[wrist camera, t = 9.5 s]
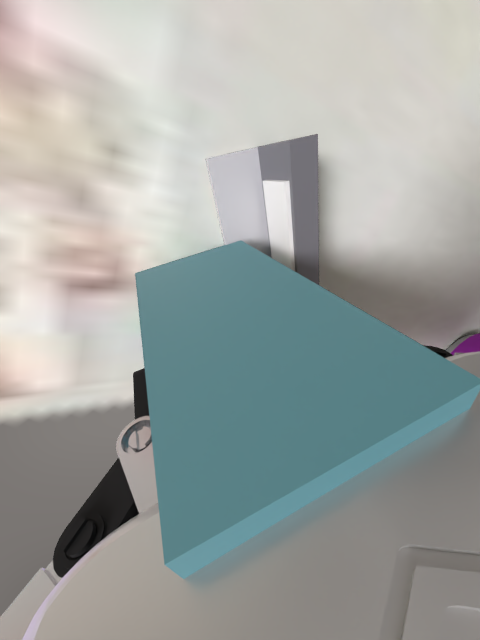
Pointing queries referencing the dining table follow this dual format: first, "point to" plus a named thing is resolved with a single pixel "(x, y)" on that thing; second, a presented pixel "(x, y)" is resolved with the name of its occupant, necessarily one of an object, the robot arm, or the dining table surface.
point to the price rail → (271, 201)
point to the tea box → (271, 395)
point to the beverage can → (466, 344)
